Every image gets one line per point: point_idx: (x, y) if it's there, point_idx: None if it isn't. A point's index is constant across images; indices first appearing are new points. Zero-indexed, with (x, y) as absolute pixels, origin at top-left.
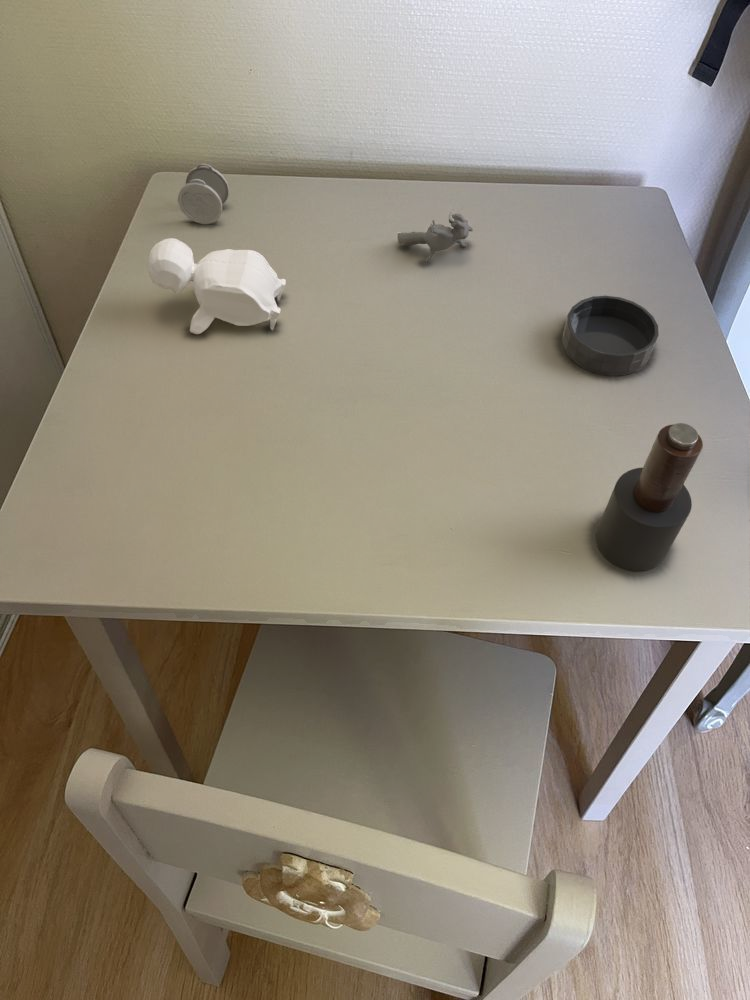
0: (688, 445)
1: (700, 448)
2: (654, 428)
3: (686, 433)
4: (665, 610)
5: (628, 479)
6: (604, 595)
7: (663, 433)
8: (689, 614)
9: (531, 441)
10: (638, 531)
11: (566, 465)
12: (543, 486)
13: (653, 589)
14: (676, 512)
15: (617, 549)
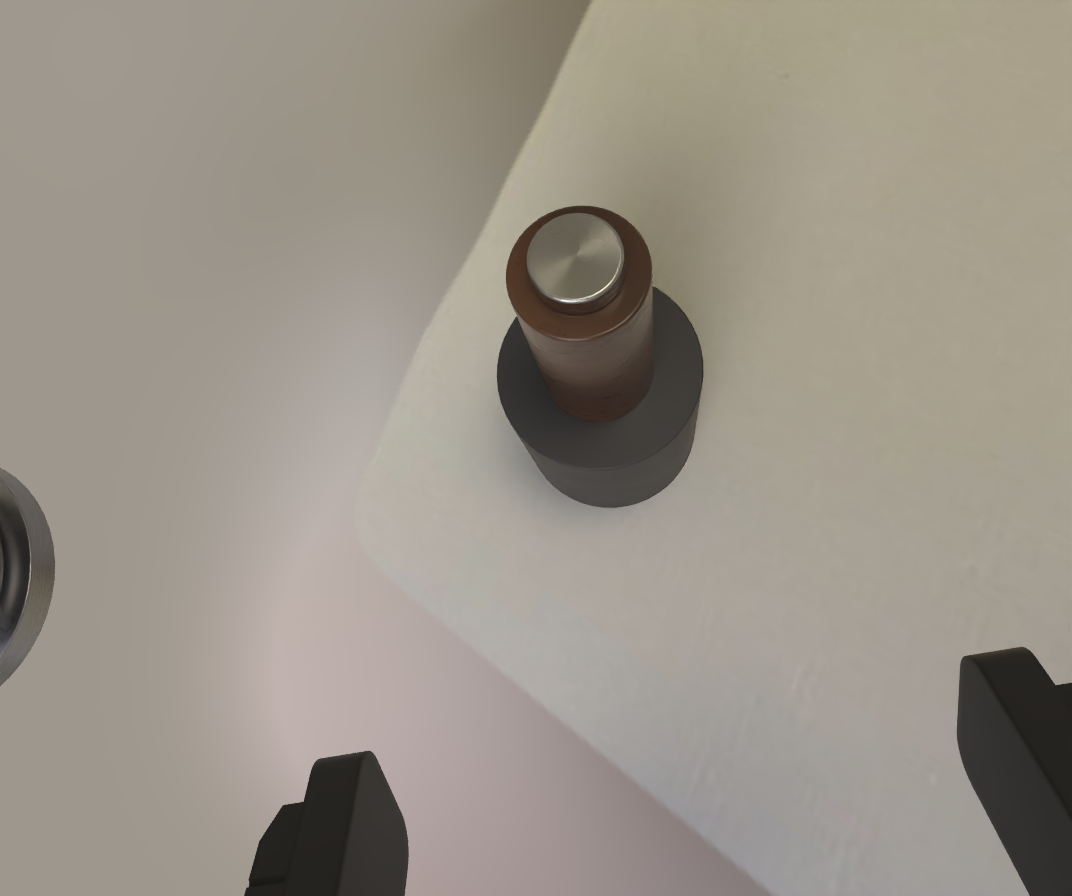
0: (528, 250)
1: (524, 312)
2: (939, 700)
3: (570, 263)
4: (430, 404)
5: (673, 336)
6: (511, 304)
7: (624, 237)
8: (402, 446)
9: (992, 348)
10: None
11: (882, 396)
12: (835, 312)
13: (483, 408)
14: (529, 396)
15: None
